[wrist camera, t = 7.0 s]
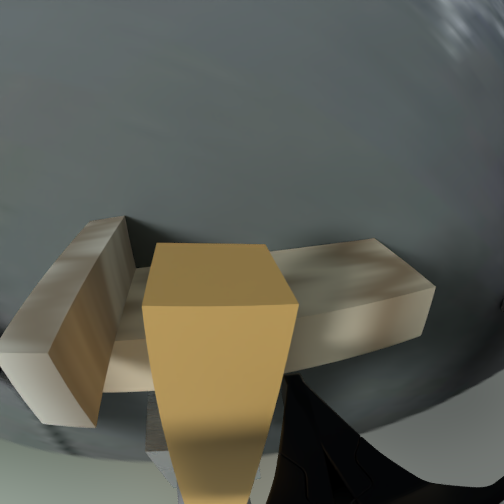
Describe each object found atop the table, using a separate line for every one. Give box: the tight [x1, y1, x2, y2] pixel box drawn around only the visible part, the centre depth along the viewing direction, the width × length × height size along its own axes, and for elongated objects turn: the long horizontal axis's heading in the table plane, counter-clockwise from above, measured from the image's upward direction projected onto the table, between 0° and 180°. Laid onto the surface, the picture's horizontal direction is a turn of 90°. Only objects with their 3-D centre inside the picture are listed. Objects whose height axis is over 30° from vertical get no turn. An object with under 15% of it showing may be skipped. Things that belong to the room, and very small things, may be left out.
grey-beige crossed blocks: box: [0, 216, 436, 428], centre depth 12 cm, size 18×6×10 cm, turn 93°
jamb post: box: [145, 391, 260, 488], centre depth 17 cm, size 6×6×7 cm
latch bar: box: [142, 243, 299, 504], centre depth 10 cm, size 16×4×3 cm, turn 175°
